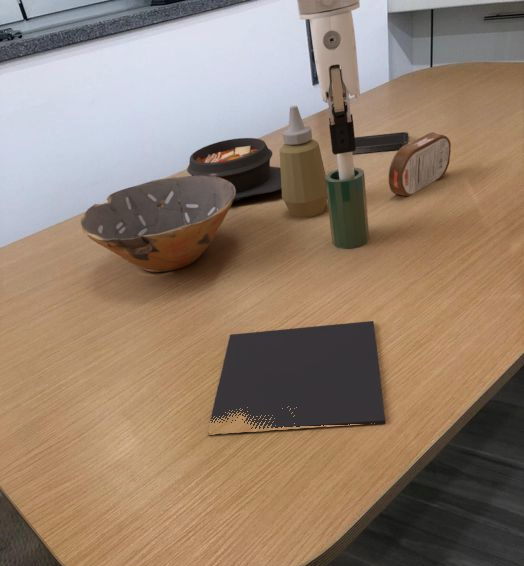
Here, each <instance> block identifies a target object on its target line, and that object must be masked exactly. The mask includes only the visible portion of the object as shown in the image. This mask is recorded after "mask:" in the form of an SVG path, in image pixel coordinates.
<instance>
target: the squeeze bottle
mask: <svg viewBox="0 0 524 566" xmlns="http://www.w3.org/2000/svg"><path fill="white" fill-rule="evenodd" d="M288 116H289V118H288V128H287V129H285V130H283V132H282V138H283V143H284V144H282V146H281V147H280V148H279V166H280V168H281V185H282V188H281V198H282V200H283V201H284V204H285V206H286V208H287V210H288V212H289V213H290V215H291V216H292V217H293V218H298V219H305V218H306V219H307V218H308V219H309V218H314V217H316V216H319V215H321V214H323V213H324V212H325V210H326V206H327V203H328V201H327V192H326V183H325V175H326V174H327V173H326V171H325V166H324V161H323V157H322V156H323V155H322V152H321V148H320V143H319V142H318V140H316V139H313V133H312V128H311V127H310V126H308V125H305V124H304V122H303V119H302V116H301V113H300V110H299V108H298V105H291V106H290V107H289V115H288Z"/></svg>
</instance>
